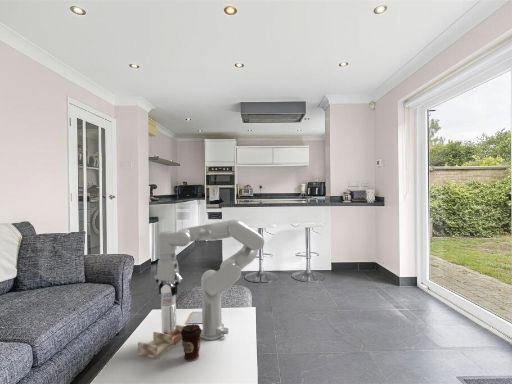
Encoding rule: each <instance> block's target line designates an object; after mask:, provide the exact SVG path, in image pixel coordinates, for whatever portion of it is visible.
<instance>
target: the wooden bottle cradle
mask: <svg viewBox="0 0 512 384" xmlns="http://www.w3.org/2000/svg"><path fill="white" fill-rule="evenodd" d="M176 326H177V327H176V331H175V332H174V333H171V334H164V333H163V332H156V331H153V335H152V336H153V341H152V342H150V343H146V342H140V341H139V342H137V355H138V356H143V357H147V358H151V359H155V360H157V359H158V358H159V357H161V356H162V355H163V354H164V353H166V352H167V351H168V350H169V349H171V348H172V347H173V346H176V345H178V344H179V343H180V342H181V341H182V335H181V331H182V329H183V327H184V326H185V325H181V324H176Z"/></svg>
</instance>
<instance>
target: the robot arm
mask: <svg viewBox="0 0 512 384" xmlns="http://www.w3.org/2000/svg"><path fill="white" fill-rule="evenodd" d="M229 238H233V239H234V240H236V241H237V242H239V243H240V244H242V245H243V246H242V248H241V249H240V250H238V251H237V252H236V253H234V254H232V255H231V256H230V257H228V258H226V259H224V260H223V261H222V262H221V264H220V266H219V269H218V270H213V269H208V270H206V271H205V272H203V274H202V276H201V279H200V284H201V286H200V287H201V313H202V314H201V315H202V317H201V318H202V319H201V320H202V329H201V330H202V331H201V335H200V339H203V340H206V341H215V340H218V339H220V338H223V337H224V336H225V335H228V334H229V328H228V327H225V325H224V323H223V321H222V320H223V318H222V315H223V314H222V292H224V291H226V289H229V287H231V286H233V285H234V284H235V283H236V282H237V281H238V280H239V279H240V278H241V275H242V270H243V269H244V268H246V267H247V266H249V265H250V264H251V263H252V262H253V261H254V260H255V259H256V257H257V255H258V253H259V251H260V250H261V249H263V247H264V245H265V238H264V237H263V236H262V234H260V233H259V232H257V231H255V230H254V229H252V228H250V227H249V226H248V225H246V224H245V223H244V222H243V221H240V220H238V219H231V220H230V219H229V220H223V221H219V222H213V223H208V224H203V225H195V226H191V227H185V228H181V229H179V230H178V231H175V232H174V231H173V230H172V231H171V230H165V231H160V232H159V233H158V261H157V267H156V268H157V269H156V274H155V275H154V276H153V278H154V280H155V282H156V283H157V286H158V294H159V295H161V288H162V286H163V285H164V284H165V283H164V282H166V281H170V283H172V286H173V287H172V295H173V296H174V295H175V296H176V295H177V294H178V286H179V285H180V283H181V282H182V281H183V278H182V276H181V275H180V269H179V268H180V267H179V263H178V259H177V257H178V256H177V254H176V247H180V248H181V247H186V246H188V245H189V244H190V243H191V242H196V241H209V242H210V241H218V240H222V239H223V240H224V239H229Z"/></svg>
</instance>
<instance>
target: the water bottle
mask: <svg viewBox="0 0 512 384" xmlns="http://www.w3.org/2000/svg"><path fill="white" fill-rule="evenodd" d="M163 284H164V285H163V286H162V288H161V294H160V300H161V301H160V302H161V305H160V311H161V312H160V314H161V333H163V334H171V333H174V332H175V331H176V327H177V326H176V325H177V304H176V303H177V302H176V295H174V296H173V295H172V287H173V286H172V283H171V282H170V281H165V283H163Z"/></svg>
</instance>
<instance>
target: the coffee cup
mask: <svg viewBox="0 0 512 384" xmlns="http://www.w3.org/2000/svg"><path fill="white" fill-rule="evenodd" d="M183 326H184V327H183V329H182V331H181V335H182V340H181V341H182V350H183V353H184V355H183V358H184V360H185V361H188V362H192V361H197V360H198V359H199V358H200V354H199V353H200V352H199V351H200V349H201V337H200V335H201V331H202V329H201V327H200V324H196V323H195V324H194V323H193V324H187V325H183Z"/></svg>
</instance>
